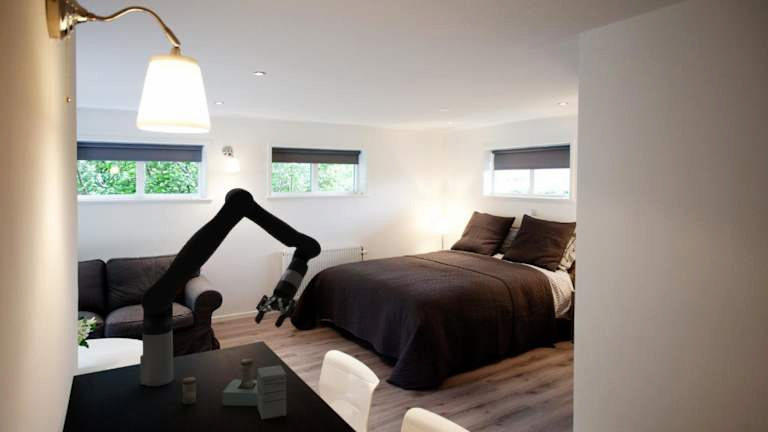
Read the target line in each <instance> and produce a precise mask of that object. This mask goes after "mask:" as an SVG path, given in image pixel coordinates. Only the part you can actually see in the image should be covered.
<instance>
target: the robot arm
mask: <svg viewBox="0 0 768 432" xmlns="http://www.w3.org/2000/svg"><path fill="white" fill-rule="evenodd" d="M221 206H222V207H221V208H220V209H219V210H218V212H217V213H216V214H215V215H214V216H213V217H212V218H211V219H210V220H209V221H208V222H207V223H204V225H203V226H201V227H200V228H199V229H198V230H197V231H195V232H194V233H193V235H192V236H191V237H190V238H189V239H188V240H187V241H186V243H184V245H183V246H182V247H181V249H180V250H179V251H178V253H177V254H176V255H175V257H174V259H173V260H172V261H171V263H170V265H169V266H168V268H167V269H166V271H165V272H164V273H163V274H162V275H161V276H160V277H159V278H158V279H157V280H156V281H155V282H154V283H151V284H150V285H148V286H147V287H146V288H145V290H144V291H143V293H142V294H141V299H140V304H141V307H142V310H143V311H142V312H143V313H142V318H143V319H142V326H141V327H142V328H141V329H142V354H141V355H140V357H139V362H140V363H139V366H140V368H139V370H140V385H145V386H147V387H160V386H163V385H167V384H170V383H171V382H173V380H174V346H173V345H174V343H173V341H174V337H173V330H174V327H173V325H174V323H173V321H174V299H175V298H176V297H177V296H178V293H179V292H180V291H181V290H182V288H183V287H184V286H185V284H187V282H188V281H190V279H192V278H193V277H194V276H195V275H196V273H198V272H199V271H200V269H201V268H202V267H203V266H204V265H205V264H206V263H207V262H208V260H209V259H210V258H211V257H212V256H213V255H214V254H215V252H216V251H217V250H218V249H219V247H220V246H221V244H223V242H224V240H225V239H226V237H228V235H229V233H231V231H232V230H233V229H234V228H235V227H236V226H237V225H238V224H239V223H240V221H242V220H243V219H244V218H246V219H248V220H249V221H251V222H253V223H254V224H256V225H257V226H258V227H260V228H261V229H262V230H263V231H265V232H266V233H267V234H268V235H270V236H271V237H272V238H274V239H275V240H277V241H278V242H279V243H281V244H282V245H283V246H286V247H287V248H295V249H294V251H293V254H292V257H291V261H290V262H289V265H288V266H287V268H286V269H285V271H284V272H283V273H282V275H281V276H280V278H279V280H278V282H277V284H276V286H275V287H274V289H273V291H272V295H270V296H267V294H263V296H262V297H261V299H260V300H259V302H258V303H257V305H256V306H255V309H256V310H257V312H258V313H256V316H255V318H254V322H255V324H257V325H260V324H261V322H262V320H263V319H264V317H265V315H266V314H267V313H270V312H273V311H275V312H276V311H277V312H279V313H280V315H278V317H277V319H276V321H275V323H274V326H275V327H276V328H277V329H278V328H281V327H282V325H283V323H284V322H285V320H286V319H287V318H289V319H292V318H293V316H294V314H295V311H296V309H297V307H298V302H297V301H296V299H294V298H295V296H296V295H297V294H298V291H299V290H300V287H301V286H302V284H303V280H304V279H305V277H306V275H307V273H308V271H309V264H308V263H309V261H310V260H312V259H315V258H317V257H319V256H320V255H321V252H322V246H321V244H320V242H318V240H317V239H315V238H314V237H312V236H309V235H307V234H306V233H304V232H300V231H298V230H297V229H296V228H294V227H293V226H291V225H290V224H288V223H287V222H286V221H284V220H282V219H281V218H280V217H278V216H276V215H275V214H273V213H271V212H269V211H268V210H267V209H265V208H264V207H262V205H260V203H257V201H256V200H255V199H254V196H253V194H252V193H251V192H250V191H248V190H246V189H245V188H242V187H241V188H240V187H235V188H232V189H230V190H228V191H227V193H226V194H225V197H224V203H223V205H221Z"/></svg>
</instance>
